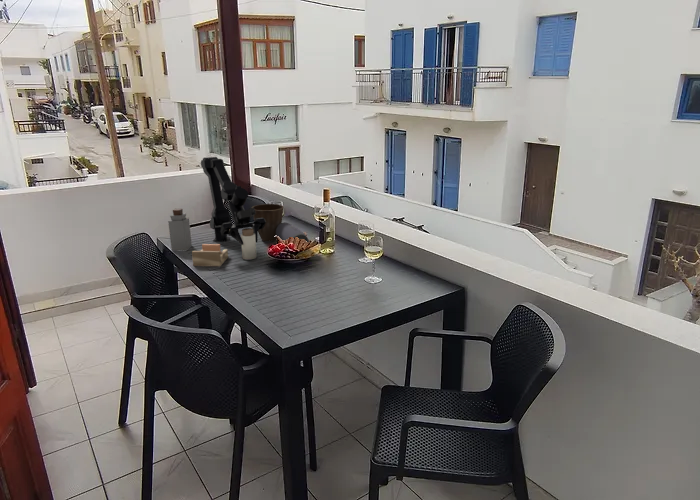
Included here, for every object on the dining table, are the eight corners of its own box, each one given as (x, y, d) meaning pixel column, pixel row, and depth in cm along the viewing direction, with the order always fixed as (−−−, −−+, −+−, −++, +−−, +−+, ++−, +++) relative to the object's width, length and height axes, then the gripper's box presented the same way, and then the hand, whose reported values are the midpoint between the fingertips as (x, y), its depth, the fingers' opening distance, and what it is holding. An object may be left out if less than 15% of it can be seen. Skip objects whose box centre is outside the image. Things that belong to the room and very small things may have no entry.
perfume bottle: (186, 250, 209) (182, 211, 204) (171, 250, 209) (167, 211, 204) (191, 246, 215) (187, 207, 210) (177, 245, 216) (172, 207, 210)
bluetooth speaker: (310, 253, 205) (310, 231, 202) (290, 256, 201) (289, 234, 198) (293, 240, 225) (293, 220, 221) (275, 242, 221) (274, 222, 218)
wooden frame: (202, 256, 200) (201, 243, 199) (228, 257, 200) (227, 243, 198) (193, 265, 190) (191, 251, 188) (220, 266, 189) (219, 252, 187)
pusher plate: (204, 258, 197) (202, 244, 195) (221, 259, 197) (220, 244, 195) (203, 259, 196) (202, 244, 194) (220, 259, 196) (219, 245, 194)
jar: (244, 254, 202) (242, 227, 198) (258, 255, 202) (256, 227, 198) (240, 259, 196) (238, 231, 192) (254, 259, 196) (253, 231, 192)
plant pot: (250, 237, 229) (248, 205, 224) (279, 233, 235) (278, 202, 230) (258, 245, 216) (255, 211, 211) (289, 241, 222) (287, 208, 217)
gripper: (220, 204, 190) (232, 236, 185) (263, 199, 200) (275, 229, 195) (215, 219, 198) (226, 250, 193) (256, 213, 208) (268, 243, 203)
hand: (249, 243), depth 196 cm, fingers closed on jar, 6 cm apart
